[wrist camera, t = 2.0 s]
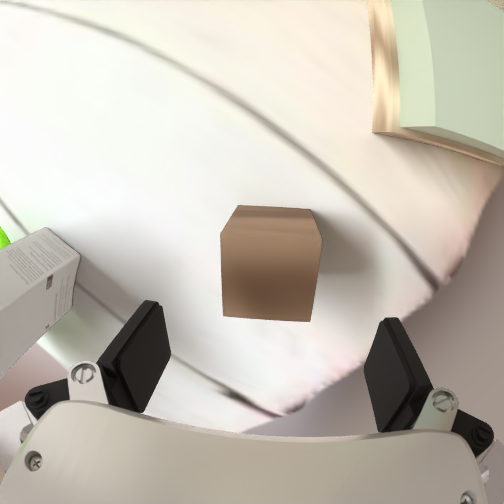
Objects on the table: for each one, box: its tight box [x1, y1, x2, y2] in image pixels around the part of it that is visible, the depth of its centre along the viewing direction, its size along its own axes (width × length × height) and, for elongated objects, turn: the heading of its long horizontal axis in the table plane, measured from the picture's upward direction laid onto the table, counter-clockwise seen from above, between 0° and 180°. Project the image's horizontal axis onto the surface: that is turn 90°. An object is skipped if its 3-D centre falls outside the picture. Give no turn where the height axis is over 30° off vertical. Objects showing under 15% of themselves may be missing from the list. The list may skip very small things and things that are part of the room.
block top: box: [390, 0, 504, 159], centre depth 8 cm, size 10×10×4 cm
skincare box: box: [0, 227, 80, 379], centre depth 16 cm, size 8×6×15 cm
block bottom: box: [366, 0, 504, 166], centre depth 12 cm, size 11×11×4 cm
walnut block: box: [220, 205, 322, 322], centre depth 17 cm, size 5×5×6 cm
